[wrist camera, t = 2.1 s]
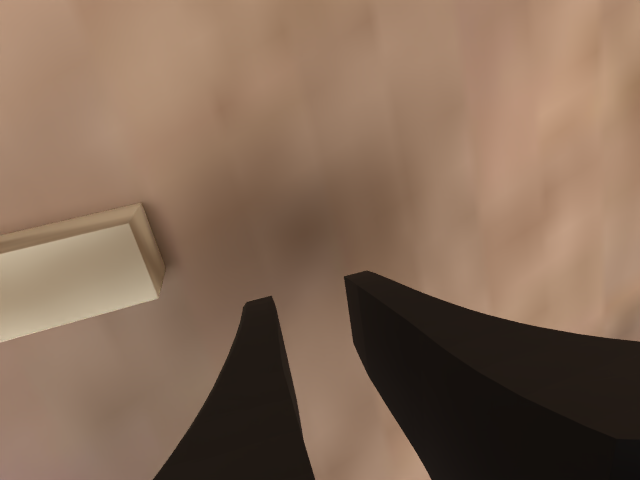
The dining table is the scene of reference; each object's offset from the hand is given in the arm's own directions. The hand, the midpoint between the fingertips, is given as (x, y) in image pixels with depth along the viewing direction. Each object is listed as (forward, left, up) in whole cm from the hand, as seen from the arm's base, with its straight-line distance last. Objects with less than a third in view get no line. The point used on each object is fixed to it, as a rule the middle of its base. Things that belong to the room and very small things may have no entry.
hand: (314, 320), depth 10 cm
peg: (0, +10, -10) cm, 14 cm away
